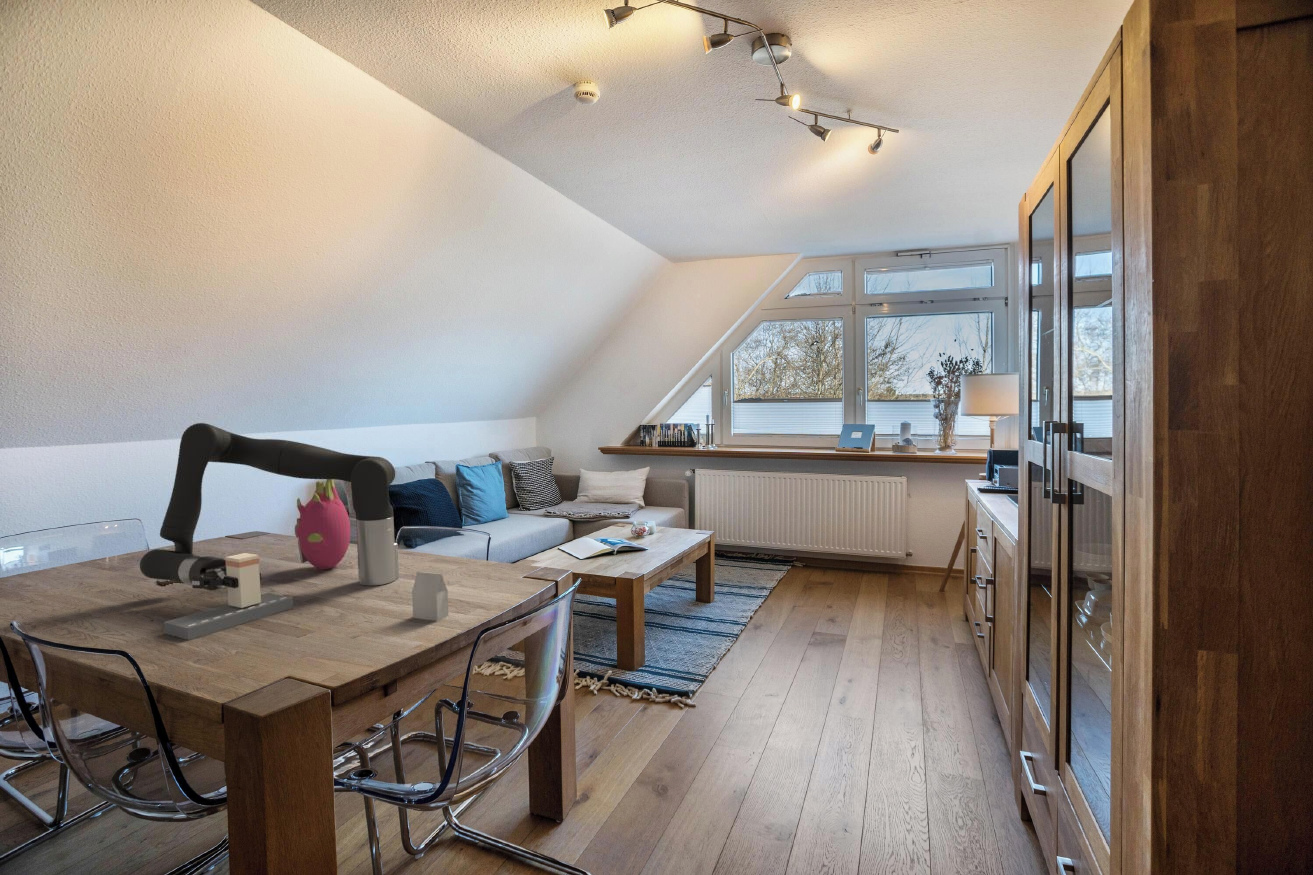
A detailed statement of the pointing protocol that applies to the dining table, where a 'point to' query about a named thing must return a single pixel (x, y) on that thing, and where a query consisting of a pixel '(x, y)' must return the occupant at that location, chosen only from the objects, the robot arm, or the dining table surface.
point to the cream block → (244, 579)
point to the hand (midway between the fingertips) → (248, 580)
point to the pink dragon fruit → (323, 527)
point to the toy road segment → (225, 617)
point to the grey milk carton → (429, 597)
